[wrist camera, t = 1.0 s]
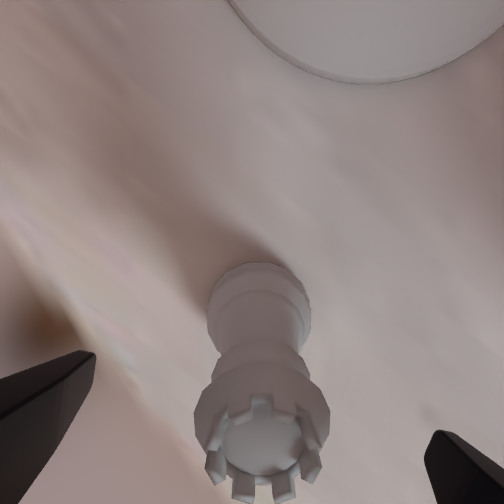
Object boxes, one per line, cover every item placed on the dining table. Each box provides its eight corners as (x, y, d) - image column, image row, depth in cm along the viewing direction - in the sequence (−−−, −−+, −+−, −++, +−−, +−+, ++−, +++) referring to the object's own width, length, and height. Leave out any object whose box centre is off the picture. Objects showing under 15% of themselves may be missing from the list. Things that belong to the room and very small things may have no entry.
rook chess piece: (197, 270, 14) (129, 386, 6) (298, 248, 14) (353, 343, 6) (222, 359, 15) (188, 553, 7) (316, 340, 15) (383, 521, 7)
